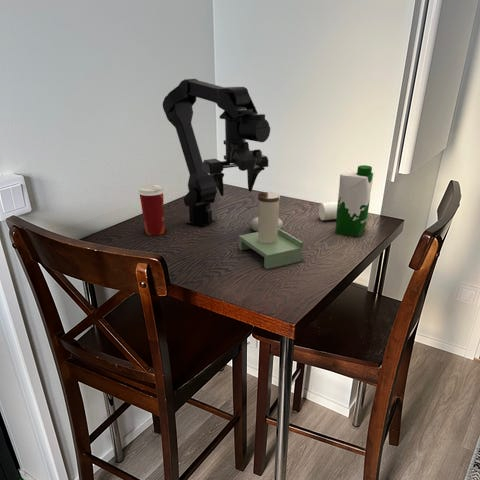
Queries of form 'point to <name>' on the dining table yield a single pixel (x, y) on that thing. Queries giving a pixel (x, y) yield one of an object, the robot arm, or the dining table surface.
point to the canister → (268, 217)
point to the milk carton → (354, 200)
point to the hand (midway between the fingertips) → (236, 193)
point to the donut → (255, 224)
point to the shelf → (274, 249)
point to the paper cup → (152, 208)
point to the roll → (328, 211)
